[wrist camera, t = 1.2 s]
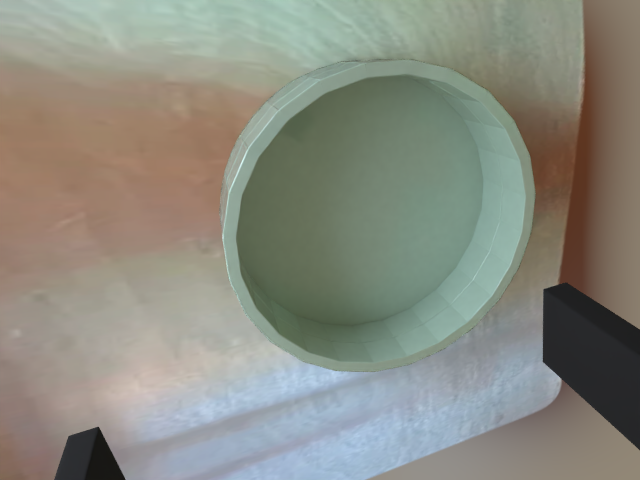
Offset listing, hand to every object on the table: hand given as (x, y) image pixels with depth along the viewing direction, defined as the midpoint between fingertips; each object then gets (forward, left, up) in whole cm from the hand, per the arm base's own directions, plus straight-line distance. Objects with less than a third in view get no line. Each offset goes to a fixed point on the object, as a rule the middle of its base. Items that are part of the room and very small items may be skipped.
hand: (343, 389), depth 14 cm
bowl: (+2, +7, -22) cm, 23 cm away
